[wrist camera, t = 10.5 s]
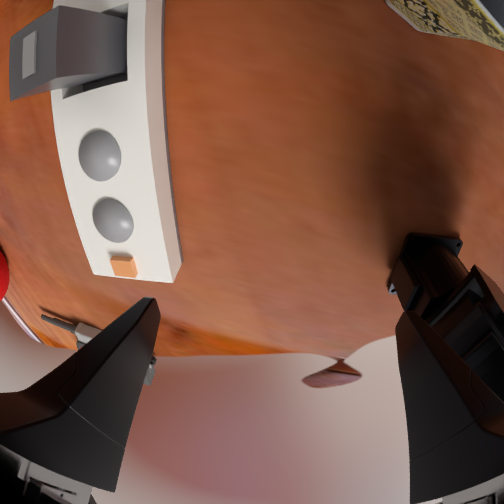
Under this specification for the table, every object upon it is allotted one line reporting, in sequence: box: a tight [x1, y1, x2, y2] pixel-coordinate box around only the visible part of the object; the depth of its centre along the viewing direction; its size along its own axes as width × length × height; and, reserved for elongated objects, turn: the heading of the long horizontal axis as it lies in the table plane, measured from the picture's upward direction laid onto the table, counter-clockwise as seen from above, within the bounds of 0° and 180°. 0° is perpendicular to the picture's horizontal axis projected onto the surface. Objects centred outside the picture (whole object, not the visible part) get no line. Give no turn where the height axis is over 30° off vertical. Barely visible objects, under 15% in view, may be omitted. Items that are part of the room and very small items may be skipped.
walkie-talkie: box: [41, 314, 156, 385], centre depth 33 cm, size 9×4×20 cm
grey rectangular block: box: [9, 5, 128, 101], centre depth 10 cm, size 4×4×8 cm
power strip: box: [51, 0, 183, 283], centre depth 15 cm, size 8×26×4 cm, turn 179°
